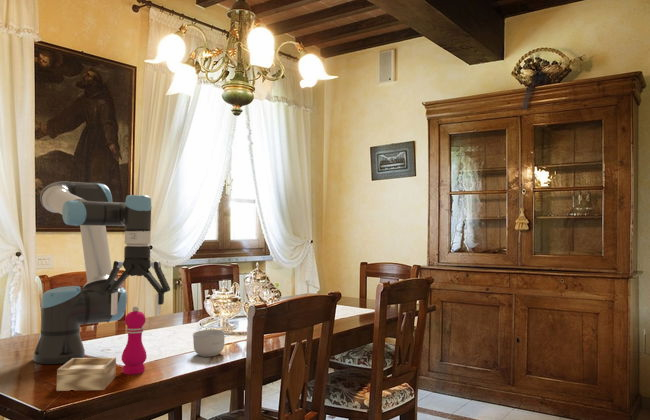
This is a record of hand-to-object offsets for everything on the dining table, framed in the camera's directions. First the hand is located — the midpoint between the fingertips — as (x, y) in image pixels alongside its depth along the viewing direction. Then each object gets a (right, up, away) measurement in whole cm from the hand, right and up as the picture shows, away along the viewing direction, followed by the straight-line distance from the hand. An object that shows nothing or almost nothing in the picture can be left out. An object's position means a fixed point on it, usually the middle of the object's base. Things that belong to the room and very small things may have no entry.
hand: (135, 315), depth 163 cm
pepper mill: (-1, -18, 0) cm, 18 cm away
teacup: (+18, -19, +24) cm, 35 cm away
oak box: (-9, -17, -13) cm, 23 cm away
